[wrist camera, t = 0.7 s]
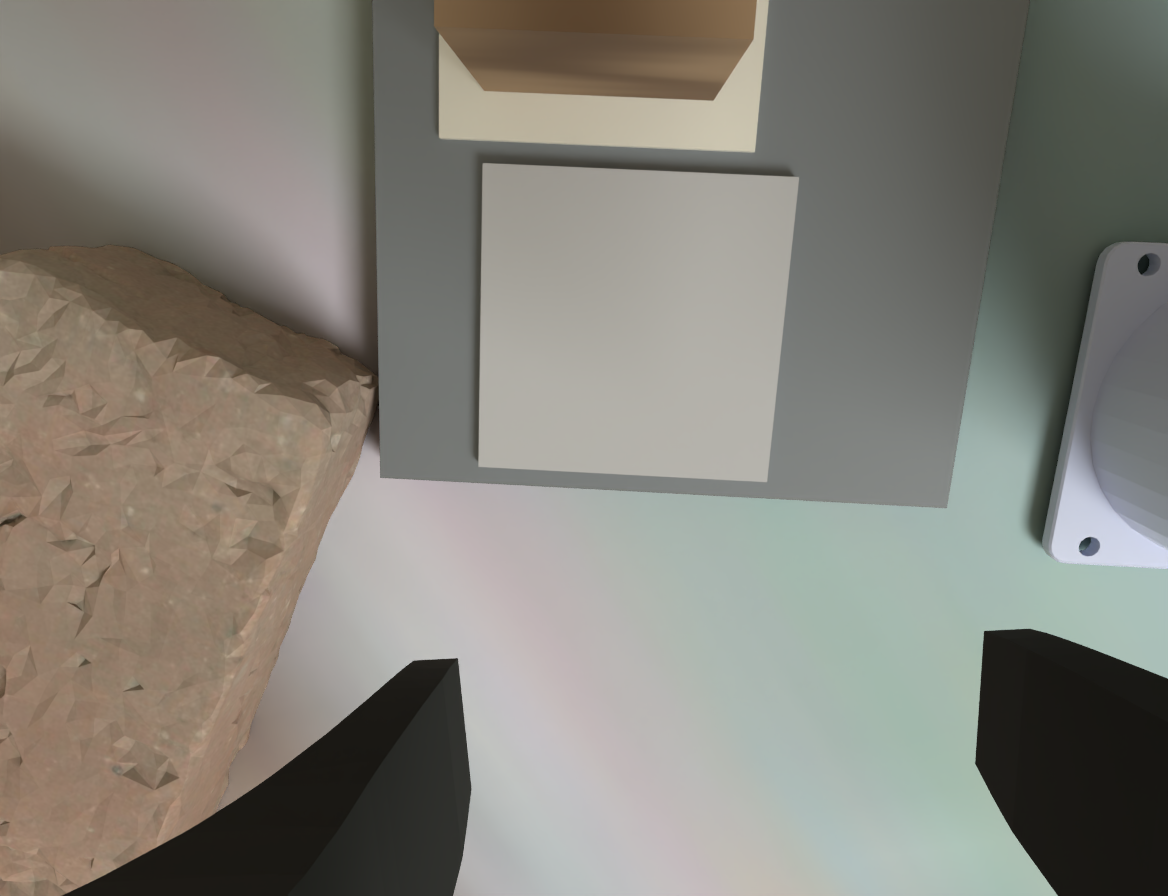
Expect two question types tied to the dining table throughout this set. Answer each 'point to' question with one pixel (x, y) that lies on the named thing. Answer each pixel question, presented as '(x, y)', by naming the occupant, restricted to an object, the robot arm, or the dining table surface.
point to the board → (726, 146)
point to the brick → (146, 544)
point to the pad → (632, 319)
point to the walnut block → (599, 45)
